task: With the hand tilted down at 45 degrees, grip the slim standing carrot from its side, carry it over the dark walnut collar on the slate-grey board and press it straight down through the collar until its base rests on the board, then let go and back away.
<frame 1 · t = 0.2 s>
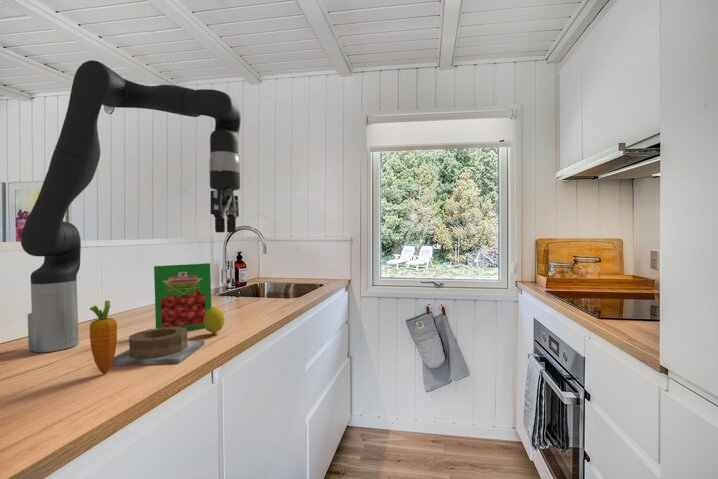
hand: (226, 232, 96), 29 cm above the table, tool pointing down, fingers open, 8 cm apart
carrot: (104, 374, 74), on the table
collar board: (159, 354, 87), on the table
tomato puree packet: (184, 330, 109), on the table
lemon: (214, 334, 104), on the table
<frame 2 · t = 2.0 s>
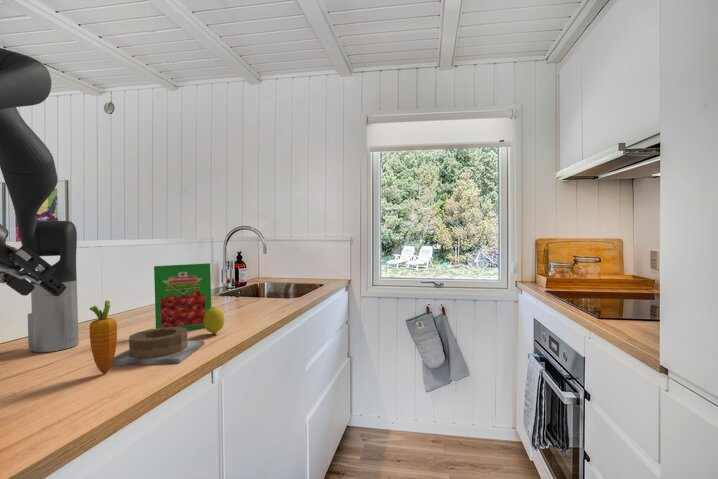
hand: (45, 292, 65), 19 cm above the table, tool tilted 45°, fingers open, 8 cm apart
nothing on the table moved.
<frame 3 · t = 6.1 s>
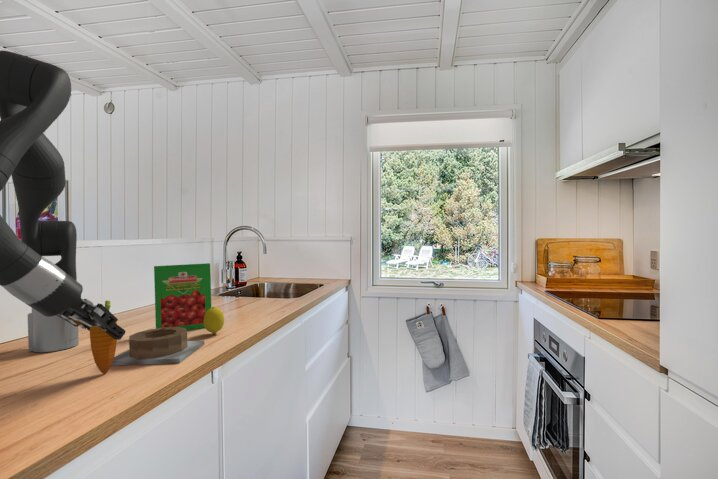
hand: (112, 334, 76), 8 cm above the table, tool tilted 45°, fingers closed on carrot, 5 cm apart
carrot: (104, 374, 74), on the table, touching gripper
everything else where it was.
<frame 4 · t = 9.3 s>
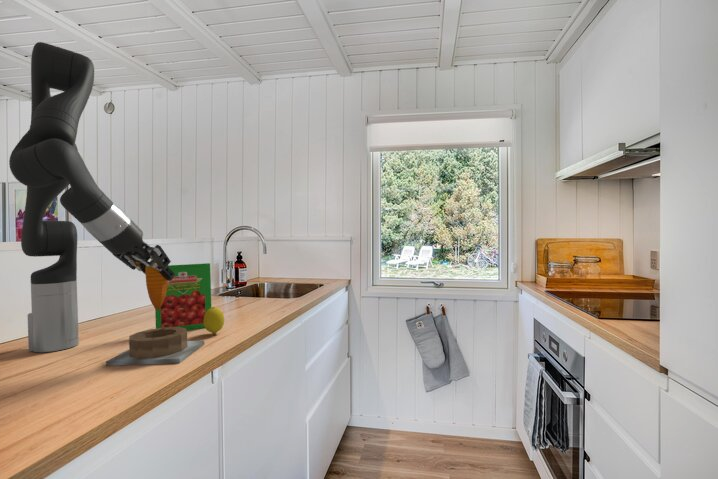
hand: (163, 277, 88), 18 cm above the table, tool tilted 45°, fingers closed on carrot, 5 cm apart
carrot: (157, 311, 86), point 10 cm above the table, touching gripper
everything else where it was.
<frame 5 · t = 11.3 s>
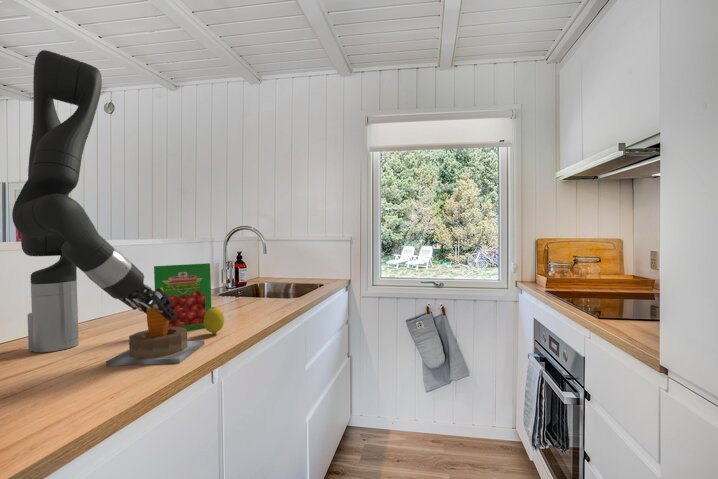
hand: (164, 316, 88), 9 cm above the table, tool tilted 45°, fingers closed on carrot, 5 cm apart
carrot: (158, 351, 86), point 1 cm above the table, touching collar board, gripper
everything else where it was.
when the fingers open (9 cm above the table, at t = 12.5 s): carrot stays where it is, resting on collar board.
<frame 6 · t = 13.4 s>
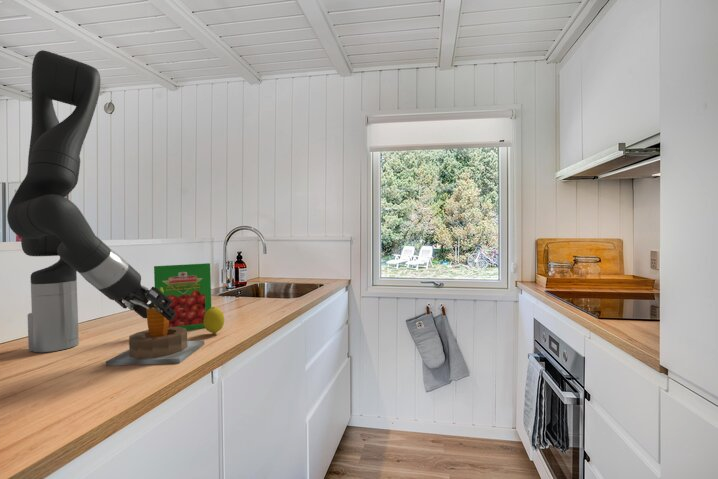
hand: (160, 316, 87), 9 cm above the table, tool tilted 45°, fingers open, 8 cm apart
carrot: (158, 351, 86), point 1 cm above the table, touching collar board
everything else where it was.
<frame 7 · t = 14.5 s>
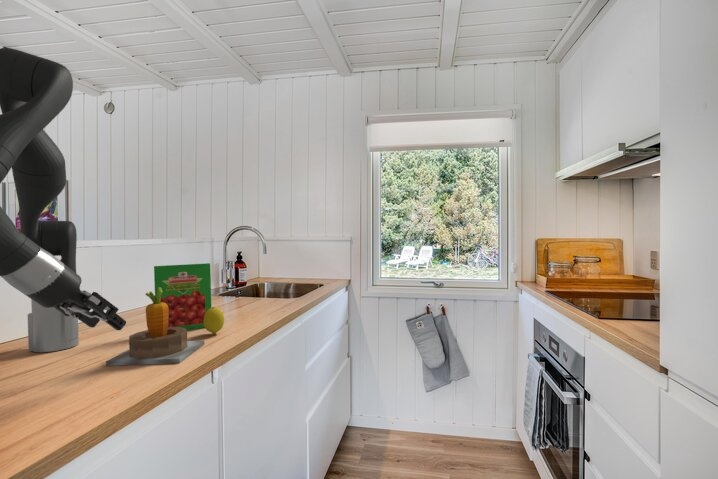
hand: (108, 325, 76), 10 cm above the table, tool tilted 45°, fingers open, 8 cm apart
nothing on the table moved.
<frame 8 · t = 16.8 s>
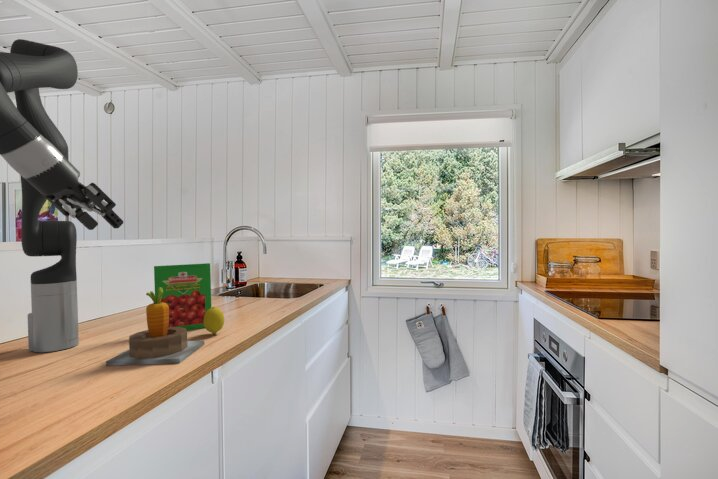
hand: (106, 226, 78), 31 cm above the table, tool tilted 45°, fingers open, 8 cm apart
nothing on the table moved.
at the end: carrot 0.2 cm from the collar board (horizontally); carrot point 0.8 cm above the table; carrot tilted 0° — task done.
